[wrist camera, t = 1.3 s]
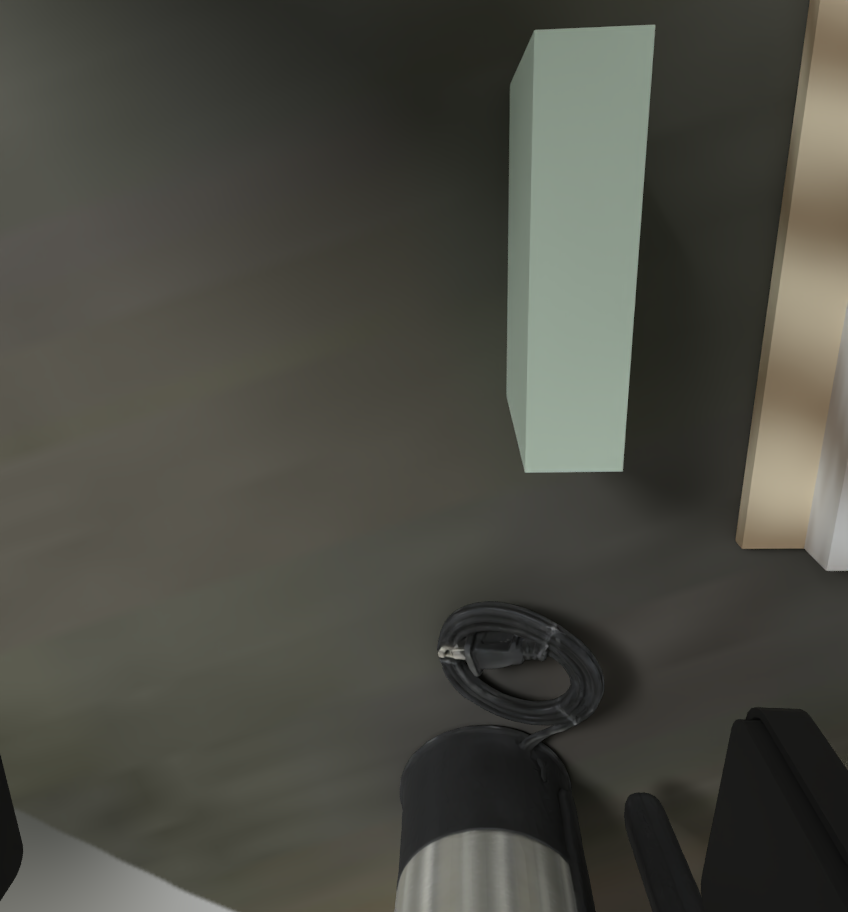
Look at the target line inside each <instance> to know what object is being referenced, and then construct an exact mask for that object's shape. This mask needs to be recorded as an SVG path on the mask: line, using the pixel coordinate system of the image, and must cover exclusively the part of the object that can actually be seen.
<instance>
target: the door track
mask: <svg viewBox="0 0 848 912" xmlns="http://www.w3.org/2000/svg"><path fill="white" fill-rule="evenodd" d="M735 541H736V542H737V543H738V545H739V546H740V547H741V548H742V549H792V548H804V549H805V550H806V551H807V552H808V553H809V554H810V555H811V556H812V557H813V558H814V559H815V560H816V561H817V562H818V563H819V564H820V565H821V566H822V567H823V568H824V569H825V570H826V571H848V0H810V3H809V10H808V18H807V25H806V32H805V39H804V47H803V54H802V61H801V68H800V76H799V83H798V90H797V97H796V104H795V112H794V119H793V126H792V133H791V141H790V148H789V155H788V162H787V170H786V177H785V184H784V191H783V199H782V206H781V213H780V220H779V228H778V235H777V242H776V249H775V257H774V264H773V271H772V278H771V286H770V293H769V300H768V307H767V315H766V322H765V329H764V336H763V344H762V351H761V358H760V365H759V373H758V380H757V387H756V394H755V401H754V409H753V416H752V423H751V430H750V438H749V445H748V452H747V459H746V467H745V474H744V481H743V488H742V496H741V503H740V510H739V517H738V525H737V532H736V539H735Z"/></svg>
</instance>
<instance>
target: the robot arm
mask: <svg viewBox="0 0 848 912" xmlns="http://www.w3.org/2000/svg"><path fill="white" fill-rule="evenodd" d="M22 856H23V844H22V840H21V836H20V832H19V828H18V824H17V820H16V816H15V812H14V808H13V804H12V800H11V796H10V792H9V788H8V784H7V780H6V776H5V772H4V768H3V764H2V760H1V756H0V901H1V899H2V898H3V896H4V894H5V893H6V891H7V890H8V888H9V887H10V885H11V884H12V882H13V881H14V879H15V877H16V875H17V873H18V871H19V868H20V865H21V861H22ZM701 894H702V902H703V907H704V911H705V912H848V770H847V769H846V767H845V766H844V765H843V763H842V762H841V760H840V759H839V757H838V756H837V754H836V753H835V751H834V750H833V749H832V747H831V746H830V744H829V743H828V741H827V740H826V738H825V737H824V735H823V734H822V733H821V731H820V730H819V728H818V727H817V725H816V724H815V722H814V721H813V719H812V718H811V717H810V716H809V715H808V714H807V712H805V711H803V710H801V709H783V708H758V707H755V708H751V709H750V711H749V712H748V714H747V717H746V720H743V719H738V720H736V721H735V722H734V723H733V726H732V729H731V734H730V739H729V744H728V749H727V754H726V759H725V764H724V769H723V774H722V779H721V784H720V789H719V794H718V799H717V803H716V808H715V813H714V818H713V823H712V828H711V833H710V838H709V843H708V848H707V853H706V858H705V863H704V868H703V873H702V879H701Z"/></svg>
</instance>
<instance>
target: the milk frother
mask: <svg viewBox="0 0 848 912" xmlns="http://www.w3.org/2000/svg"><path fill="white" fill-rule="evenodd" d="M437 650H438V655H439V660H440V662H441V664H442V666H443V670H444V672H445V675H446V676H447V678H448V680H449V681H450V683H451V684H452V685H453V687H454V688H455V689H456V690H457V691H458V692H459V693H460V694H461V695H462V696H463V697H465V698H467V699H468V700H470V701H471V702H474V703H475V704H476V705H478V706H480V707H481V708H483V709H484V710H487V711H489V712H490V713H493V714H495V715H497V716H500V717H503V718H505V719H508V720H512V721H515V722H520V723H525V724H531V725H553V726H551V727H549V728H546V729H544V730H541V731H538V732H536V733H534V734H532V735H528V734H526V733H524V732H521V731H518V730H515V729H511V728H507V727H502V726H493V725H486V726H468V727H463V728H457V729H454V730H451V731H447V732H445V733H443V734H441V735H438V736H437V737H435V738H433V739H432V740H430V741H428V742H426V743H425V744H424V745H423V746H422V747H421V748H420V749H419V750H417V751H416V752H415V753H414V754H413V756H412V757H411V758H410V760H409V761H408V763H407V765H406V766H405V768H404V771H403V774H402V777H401V783H400V801H401V804H402V809H403V814H402V832H401V846H400V862H399V873H398V881H397V895H396V903H395V912H595V906H594V901H593V896H592V890H591V885H590V880H589V874H588V870H587V865H586V861H585V856H584V851H583V846H582V839H581V834H580V828H579V822H578V817H577V811H576V807H575V803H574V800H573V797H572V791H571V788H572V787H571V782H570V778H569V775H568V773H567V771H566V769H565V767H564V765H563V763H562V762H561V760H560V759H559V758H558V756H557V755H556V754H555V753H554V752H553V751H552V750H551V749H550V748H549V747H548V746H546V745H544V744H543V743H542V742H541V741H542V740H543V739H545V738H547V737H549V736H550V735H553V734H555V733H559V732H562V731H566V730H567V729H569V728H571V727H572V726H575V725H578V724H579V723H580V722H582V721H584V720H585V719H587V718H588V717H590V716H591V715H592V714H593V713H594V711H595V710H596V708H597V706H598V704H599V702H600V700H601V698H602V696H603V692H604V676H603V672H602V670H601V667H600V665H599V663H598V661H597V660H596V658H595V656H594V655H593V654H592V652H591V651H590V650H589V649H588V648H587V647H586V646H585V645H584V644H583V643H582V642H581V641H580V640H579V639H578V638H576V637H575V636H574V635H572V634H571V633H570V632H568V631H567V630H566V629H564V628H563V627H561V626H560V625H558V624H556V623H555V622H553V621H552V620H550V619H548V618H546V617H545V616H542V615H540V614H538V613H536V612H533V611H531V610H529V609H526V608H524V607H520V606H516V605H512V604H508V603H501V602H496V601H495V602H493V601H487V602H478V603H473V604H470V605H466V606H464V607H462V608H460V609H458V610H456V611H455V612H453V613H452V614H451V615H450V616H449V617H448V618H447V620H446V621H445V623H444V625H443V627H442V630H441V632H440V636H439V640H438V647H437ZM548 656H549V657H552V658H553V659H555V660H556V661H557V662H559V663H560V664H561V665H562V666H563V668H564V669H565V670H566V672H567V673H568V675H569V677H570V681H571V686H570V687H569V689H568V690H567V692H566V693H565V694H563V695H561V696H560V697H558V698H556V699H554V700H549V701H542V702H540V701H538V702H535V701H528V700H522V699H519V698H515V697H512V696H509V695H507V694H504V693H501V692H499V691H498V690H496V689H494V688H492V687H490V686H489V685H487V684H486V683H484V682H483V681H482V680H480V679H479V678H478V676H480V675H481V674H482V672H483V669H496V668H502V667H506V666H510V665H512V664H513V665H518V664H522V663H523V662H524V660H526V659H527V660H530V659H535V660H540V661H544V660H546V658H547V657H548ZM464 660H466V661H467V665H468V667H469V668H468V667H467V665H466V664H465V662H464ZM624 818H625V826H626V830H627V835H628V838H629V841H630V844H631V847H632V849H633V853H634V856H635V859H636V862H637V866H638V869H639V871H640V874H641V878H642V881H643V884H644V887H645V890H646V893H647V896H648V899H649V902H650V905H651V908H652V911H653V912H705V911H704V907H703V902H702V897H701V894H700V892H699V889H698V887H697V885H696V882H695V880H694V878H693V876H692V874H691V871H690V869H689V866H688V864H687V861H686V859H685V857H684V855H683V852H682V850H681V848H680V845H679V843H678V840H677V838H676V836H675V833H674V831H673V829H672V826H671V824H670V821H669V819H668V817H667V815H666V813H665V810H664V808H663V806H662V805H661V803H660V801H659V800H658V799H657V798H656V797H655V796H653V795H651V794H648V793H634V794H631V795H629V797H628V799H627V801H626V803H625V812H624Z"/></svg>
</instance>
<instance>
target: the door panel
mask: <svg viewBox="0 0 848 912" xmlns="http://www.w3.org/2000/svg"><path fill="white" fill-rule="evenodd" d="M654 37H655V25H635V26H613V27H591V28H568V29H546V30H534V32H533V34H532V37H531V39H530V41H529V43H528V46H527V48H526V50H525V52H524V54H523V57H522V59H521V61H520V63H519V66H518V68H517V70H516V72H515V74H514V77H513V79H512V81H511V83H510V126H509V216H508V305H507V395H506V396H507V401H508V405H509V409H510V413H511V417H512V421H513V425H514V429H515V433H516V438H517V442H518V446H519V450H520V454H521V458H522V462H523V466H524V470H525V473H532V472H623V460H624V446H625V433H626V419H627V405H628V392H629V378H630V364H631V351H632V337H633V324H634V310H635V296H636V283H637V269H638V255H639V242H640V228H641V214H642V201H643V187H644V173H645V160H646V146H647V132H648V119H649V105H650V91H651V78H652V64H653V51H654Z"/></svg>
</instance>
